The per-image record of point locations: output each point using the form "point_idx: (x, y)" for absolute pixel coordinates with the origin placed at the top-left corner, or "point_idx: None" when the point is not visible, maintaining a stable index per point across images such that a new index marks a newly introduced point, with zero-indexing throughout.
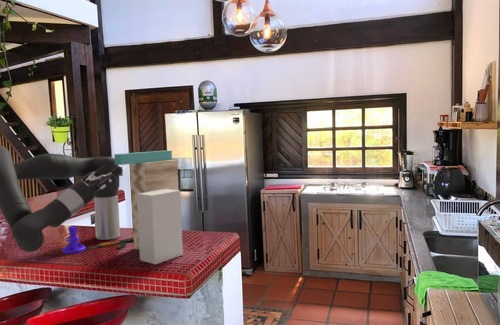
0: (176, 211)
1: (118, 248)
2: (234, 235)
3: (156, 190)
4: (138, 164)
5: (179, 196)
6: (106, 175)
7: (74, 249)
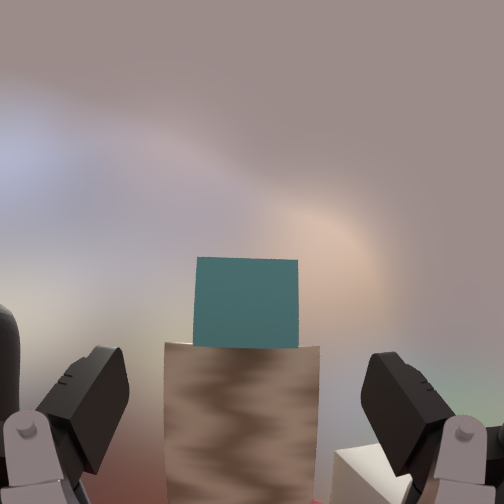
0: None
1: None
2: (314, 499)
3: (354, 465)
4: (245, 356)
5: None
6: (472, 466)
7: None
